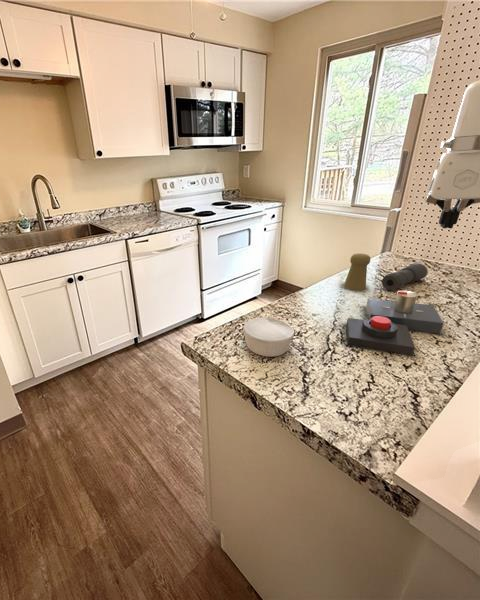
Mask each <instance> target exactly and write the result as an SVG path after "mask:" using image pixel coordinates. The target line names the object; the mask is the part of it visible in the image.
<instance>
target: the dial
mask: <svg viewBox="0 0 480 600" xmlns="http://www.w3.org/2000/svg"><path fill="white" fill-rule="evenodd" d="M417 298H418V293H417V292H414V291H410V290H397V291H396V294H395V299H394V300H393V301H394V305H393V309H394V310H395V311H398V312H402V313H411V312H412V311H413V308H414V305H415V303H416V301H417Z"/></svg>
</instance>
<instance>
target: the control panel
mask: <svg viewBox="0 0 480 600" xmlns="http://www.w3.org/2000/svg"><path fill="white" fill-rule="evenodd" d="M394 301H395V300H388V299H378V298H367V300H366V304H365V311H366V312H365V313H366V318H372V317H374V316H382V317H386V318H388V319H390V320H391V322H392V323H394V324H400V325H407V328H408V331H414V332H422V333H429V334H435V335H437V334H438V335H440V334H441V332H442V329H443V326H444V321H443V319H442V317H441V316H440V314H439V313H438V311H437V309H436V307H435V305H434V304H427V303H426V304H425V303H416V302H415V305H414V308H413V311H412V312H411V313H402V312H398V311H395V310H394V309H393V305H394Z"/></svg>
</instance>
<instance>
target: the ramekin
mask: <svg viewBox="0 0 480 600" xmlns="http://www.w3.org/2000/svg"><path fill="white" fill-rule="evenodd" d="M242 328H243V329H242V331H243V334H244V341H245V345H246V346H247V347H248V349H249V350H250V351H251V352H253V353H254V354H256V355H258V356H262V357H268V358H274V357H279V356H281V355H284V354H285V353H286V352H287V351H288V350H289V348H290V345H291V342H292V340H293V339H294V336H295V329H294V328H293V327H292V326H291V324H289V323H288V322H286V321H284V320H282V319H279V318H274V317H263V316H262V317H255V318H251V319H249V320H247V321H246V322H245V323H244V324H243V327H242Z"/></svg>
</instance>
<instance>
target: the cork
mask: <svg viewBox="0 0 480 600" xmlns="http://www.w3.org/2000/svg"><path fill="white" fill-rule="evenodd" d="M349 261H350V267H349V269H348V272H347V276H346V278H345V281H344V283H343V287H344V289H346V290H349V291H356V292H357V291H358V292H360V291H364V290H366V289H367V276H368V275H367V273H368V271H367V270H368V266H369V264H370V263H371V256H370V255H369V254H366V253H353V254H352V255H351V256H350V259H349Z"/></svg>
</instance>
